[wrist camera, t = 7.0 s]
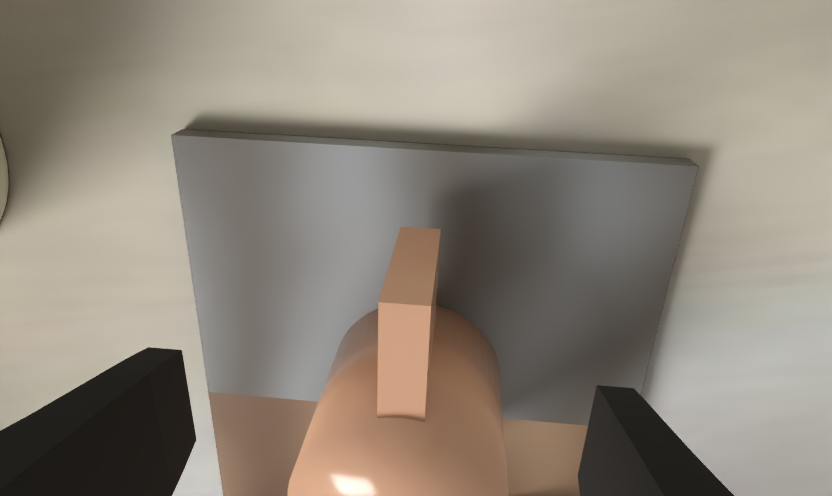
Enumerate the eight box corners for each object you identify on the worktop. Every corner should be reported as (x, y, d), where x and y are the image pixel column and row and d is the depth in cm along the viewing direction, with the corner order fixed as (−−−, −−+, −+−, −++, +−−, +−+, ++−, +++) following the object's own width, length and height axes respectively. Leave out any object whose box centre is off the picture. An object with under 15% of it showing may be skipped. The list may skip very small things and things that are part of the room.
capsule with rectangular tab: (336, 430, 22) (293, 573, 17) (330, 206, 18) (271, 299, 13) (491, 444, 22) (498, 596, 16) (519, 219, 18) (539, 320, 12)
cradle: (240, 550, 27) (211, 620, 24) (182, 128, 18) (127, 156, 15) (584, 587, 26) (598, 666, 23) (689, 158, 17) (734, 194, 14)
